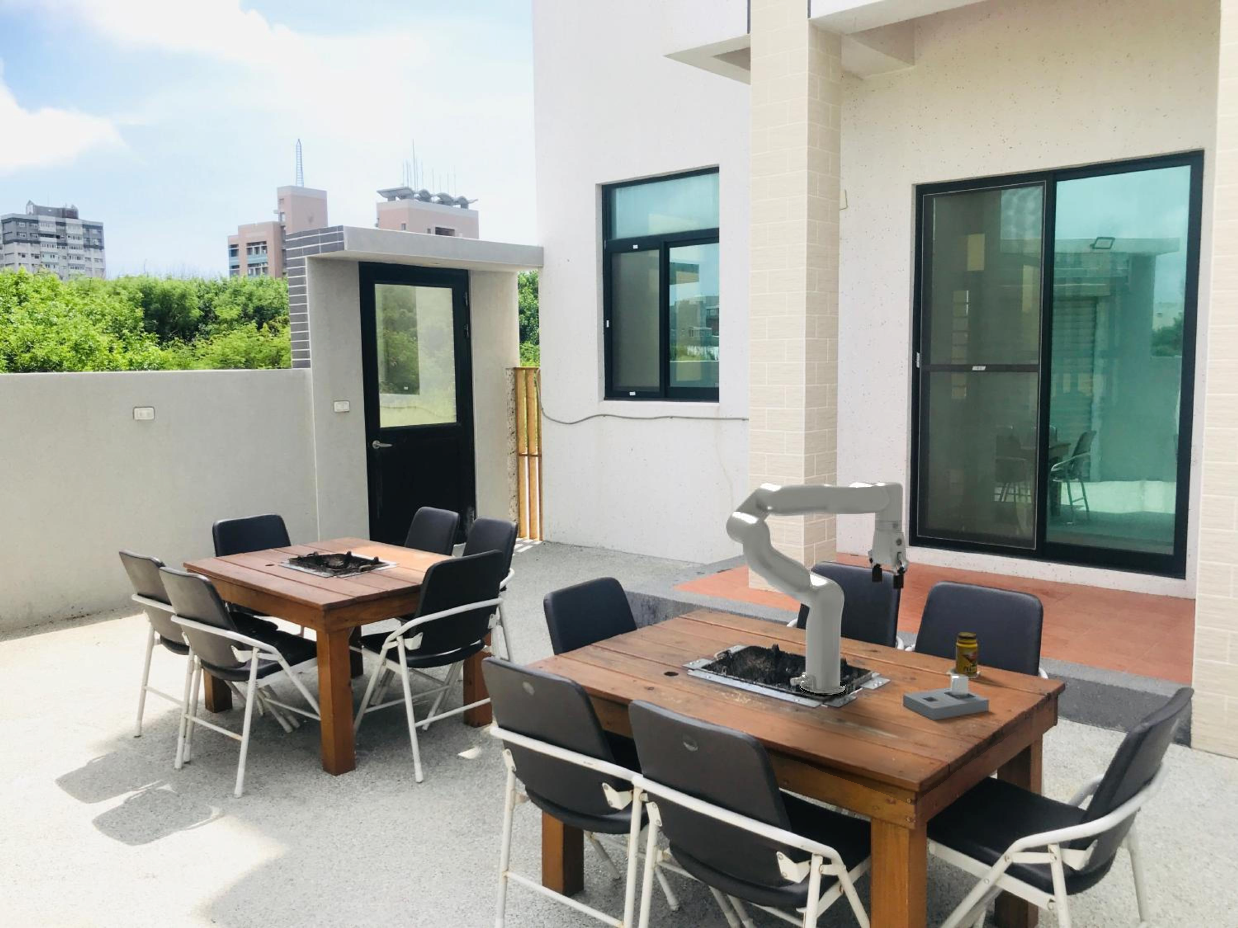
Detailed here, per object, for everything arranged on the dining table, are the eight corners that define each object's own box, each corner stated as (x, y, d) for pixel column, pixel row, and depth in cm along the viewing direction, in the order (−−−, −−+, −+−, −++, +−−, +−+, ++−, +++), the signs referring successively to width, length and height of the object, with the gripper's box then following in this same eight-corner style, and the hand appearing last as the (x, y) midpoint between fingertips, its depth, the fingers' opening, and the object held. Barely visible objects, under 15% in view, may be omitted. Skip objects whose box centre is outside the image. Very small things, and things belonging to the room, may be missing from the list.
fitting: (958, 709, 255) (958, 679, 255) (946, 704, 259) (947, 674, 259) (971, 707, 257) (972, 677, 256) (959, 701, 261) (960, 673, 260)
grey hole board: (933, 719, 248) (933, 708, 247) (903, 705, 259) (903, 694, 258) (988, 710, 254) (989, 699, 254) (957, 696, 265) (957, 685, 265)
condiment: (976, 678, 281) (977, 638, 280) (945, 674, 285) (946, 634, 284) (980, 671, 287) (981, 632, 286) (950, 667, 291) (951, 628, 290)
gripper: (919, 529, 267) (918, 590, 269) (880, 520, 283) (879, 578, 285) (896, 531, 265) (895, 592, 266) (859, 522, 281) (858, 580, 282)
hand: (887, 585), depth 276 cm, fingers open, 9 cm apart
